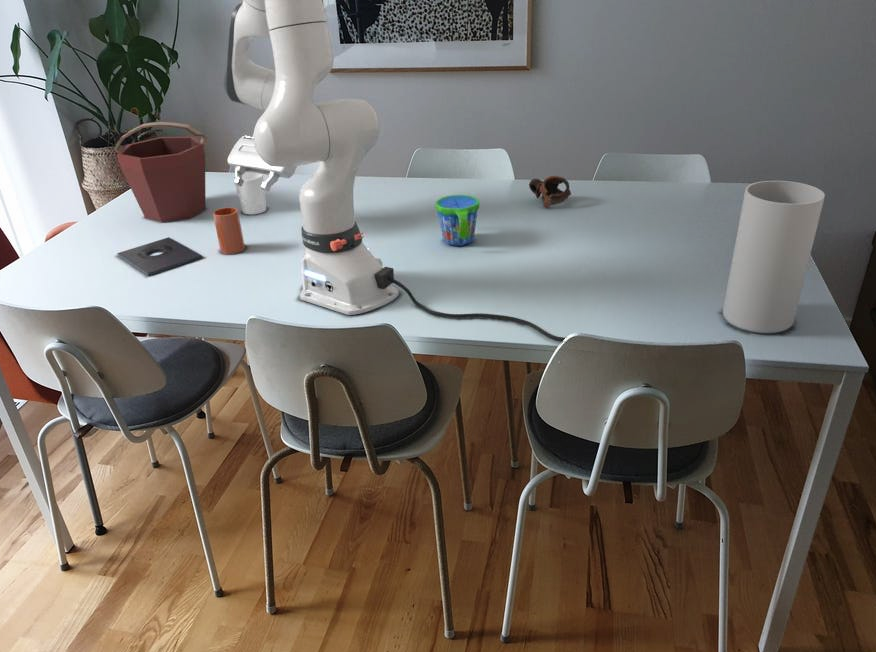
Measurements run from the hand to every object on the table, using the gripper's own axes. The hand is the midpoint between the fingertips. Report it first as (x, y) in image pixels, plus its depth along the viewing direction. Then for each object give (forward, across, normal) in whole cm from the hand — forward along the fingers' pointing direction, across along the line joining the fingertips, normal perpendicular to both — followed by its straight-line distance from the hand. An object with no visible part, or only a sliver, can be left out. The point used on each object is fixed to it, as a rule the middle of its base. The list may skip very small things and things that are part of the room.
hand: (250, 187), depth 184 cm
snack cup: (-5, +48, +24) cm, 54 cm away
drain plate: (+24, -14, -6) cm, 29 cm away
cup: (+16, 0, +2) cm, 16 cm away
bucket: (+7, -36, +12) cm, 39 cm away
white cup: (-1, -15, +20) cm, 25 cm away
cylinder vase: (+1, +119, +18) cm, 121 cm away
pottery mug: (-30, +56, +48) cm, 80 cm away
